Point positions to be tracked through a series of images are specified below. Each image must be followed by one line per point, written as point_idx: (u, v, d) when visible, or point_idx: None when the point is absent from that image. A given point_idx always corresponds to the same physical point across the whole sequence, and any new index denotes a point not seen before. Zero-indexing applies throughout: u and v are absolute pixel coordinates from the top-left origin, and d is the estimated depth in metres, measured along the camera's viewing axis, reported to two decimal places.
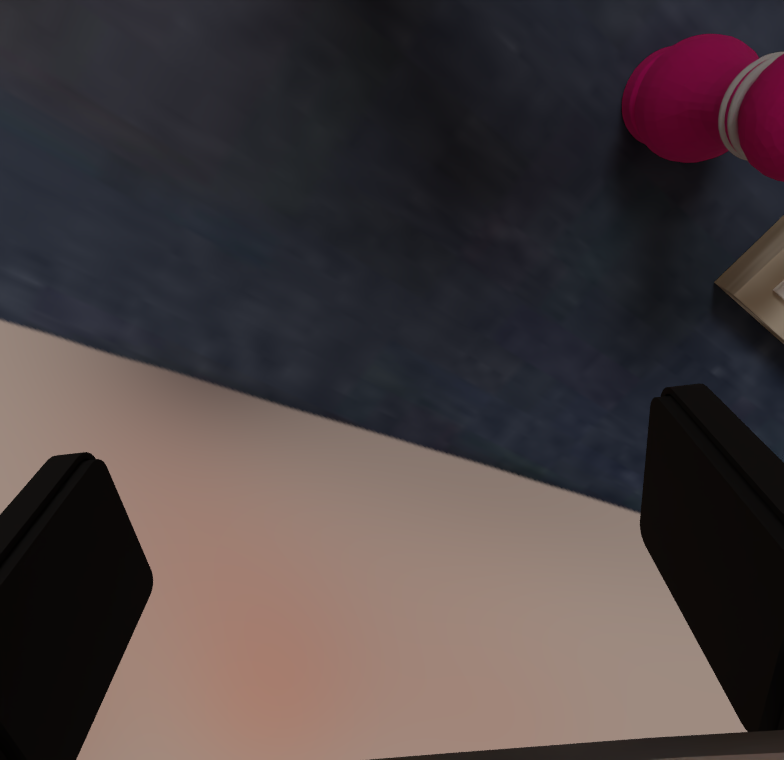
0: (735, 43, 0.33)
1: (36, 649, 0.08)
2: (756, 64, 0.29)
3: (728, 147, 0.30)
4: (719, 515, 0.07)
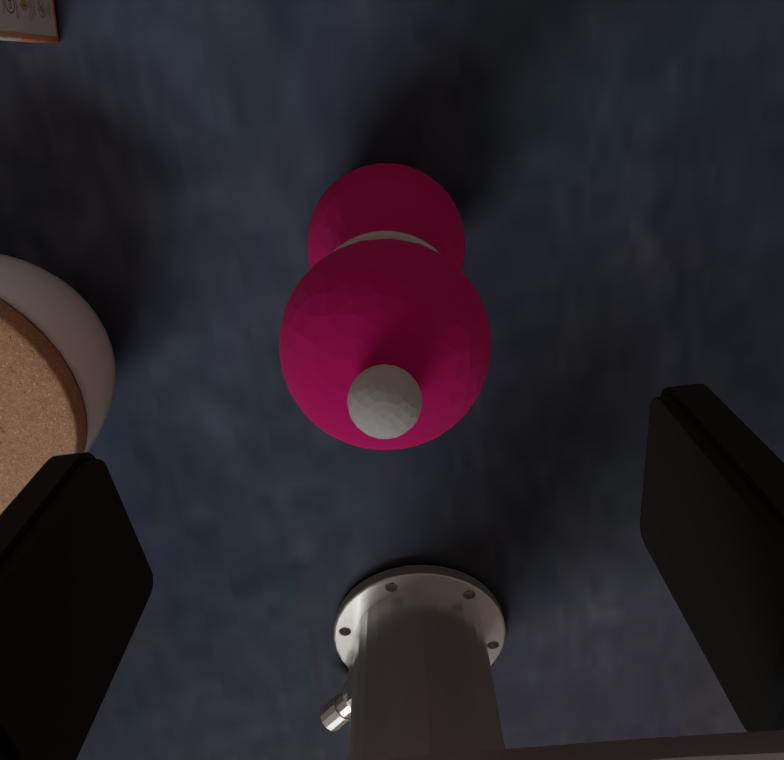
0: None
1: (36, 649, 0.08)
2: None
3: None
4: (719, 515, 0.07)
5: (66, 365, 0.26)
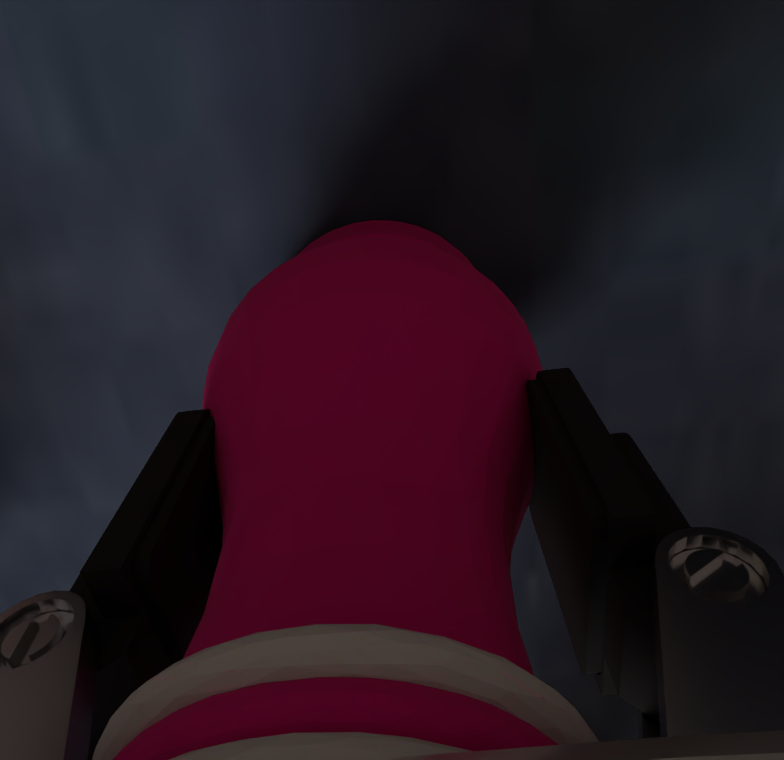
0: None
1: (191, 577, 0.08)
2: None
3: None
4: (558, 481, 0.08)
5: None
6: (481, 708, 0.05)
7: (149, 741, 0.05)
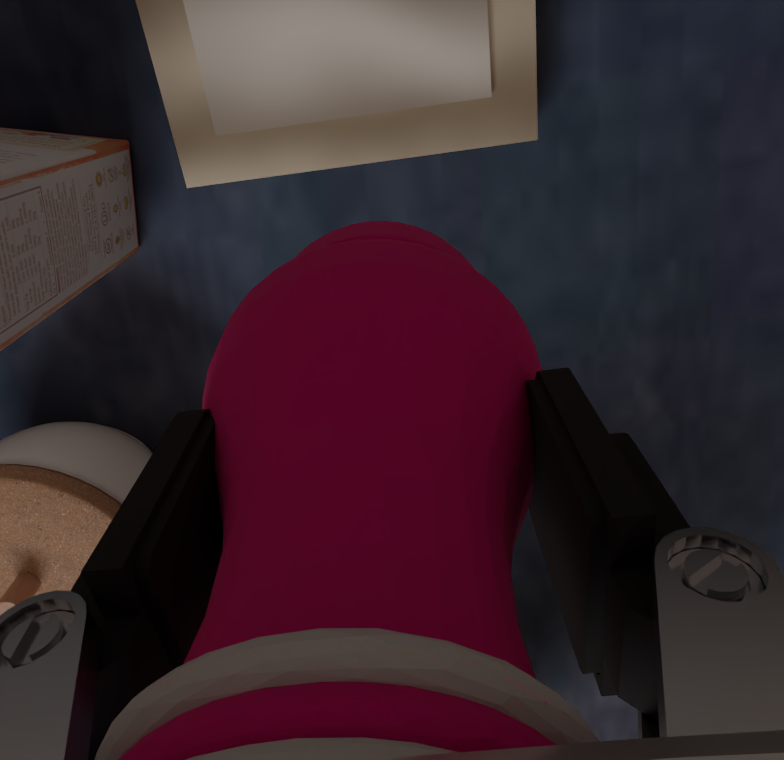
0: None
1: (192, 577, 0.08)
2: None
3: None
4: (558, 481, 0.08)
5: None
6: (484, 712, 0.05)
7: (151, 746, 0.05)
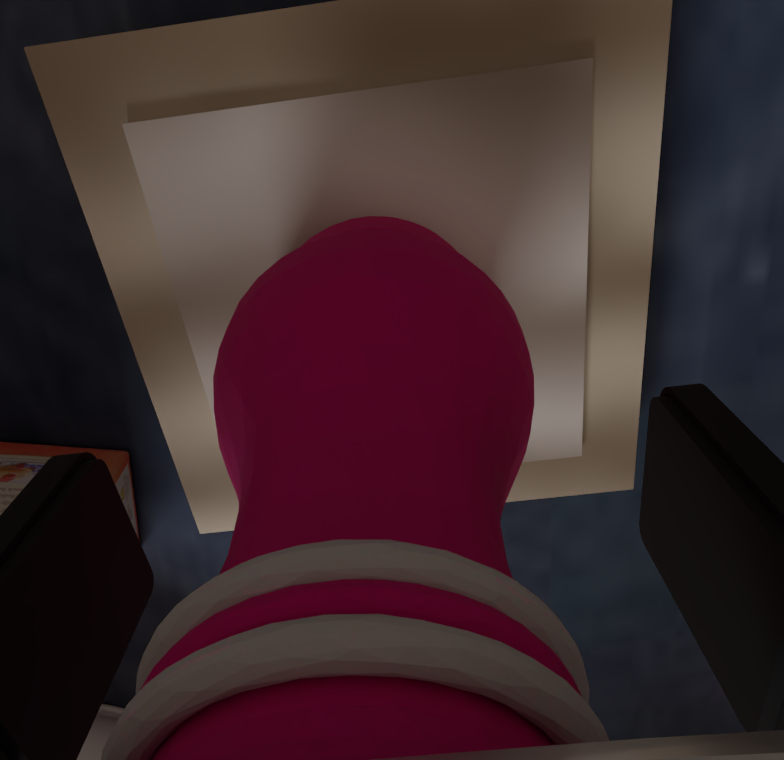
0: None
1: (37, 648, 0.08)
2: None
3: None
4: (718, 515, 0.07)
5: None
6: (478, 604, 0.05)
7: (197, 634, 0.05)
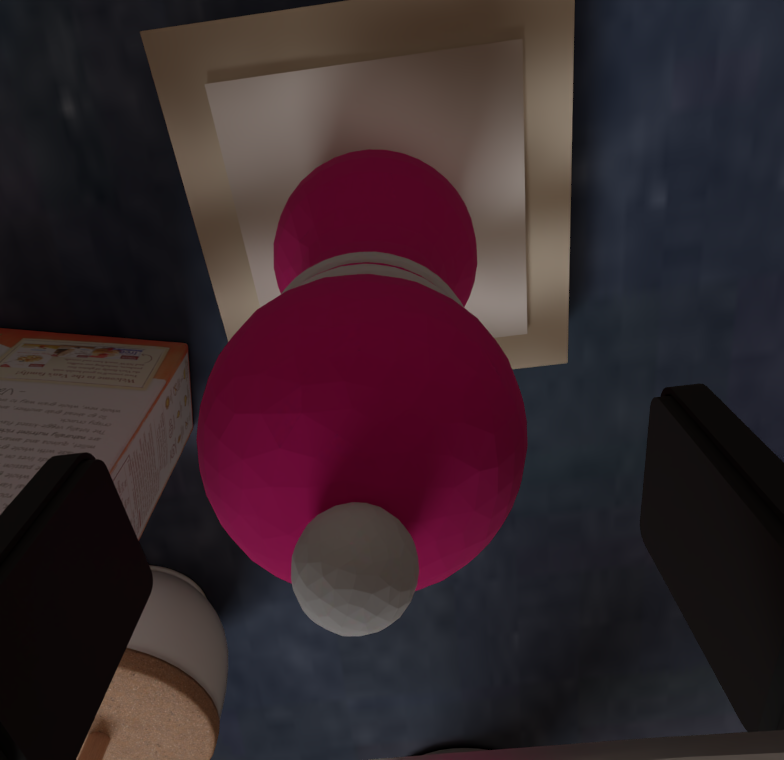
0: None
1: (36, 649, 0.08)
2: None
3: None
4: (719, 515, 0.07)
5: (208, 696, 0.33)
6: (417, 275, 0.13)
7: None
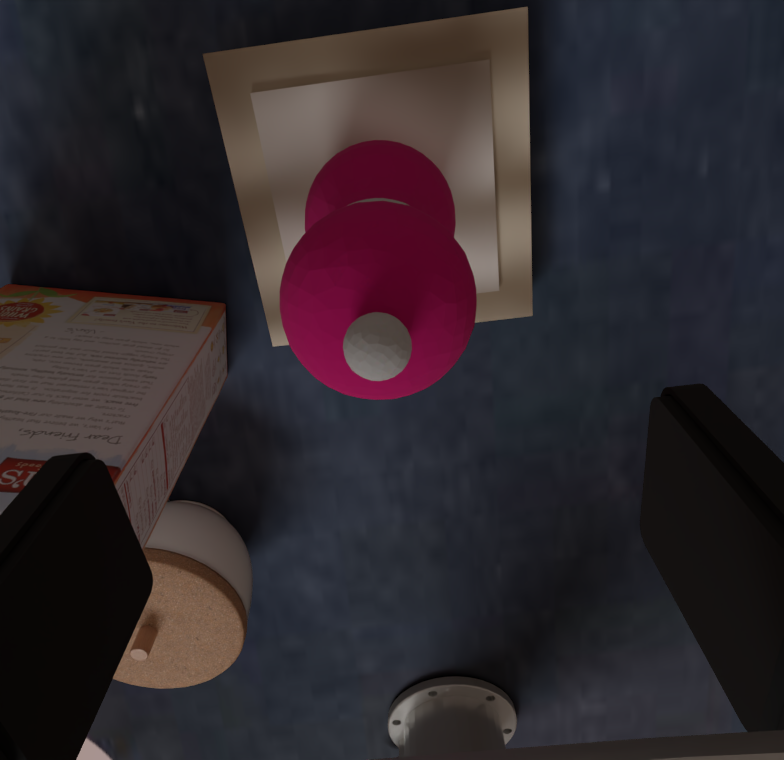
0: None
1: (36, 649, 0.08)
2: None
3: None
4: (719, 515, 0.07)
5: (238, 597, 0.40)
6: None
7: None
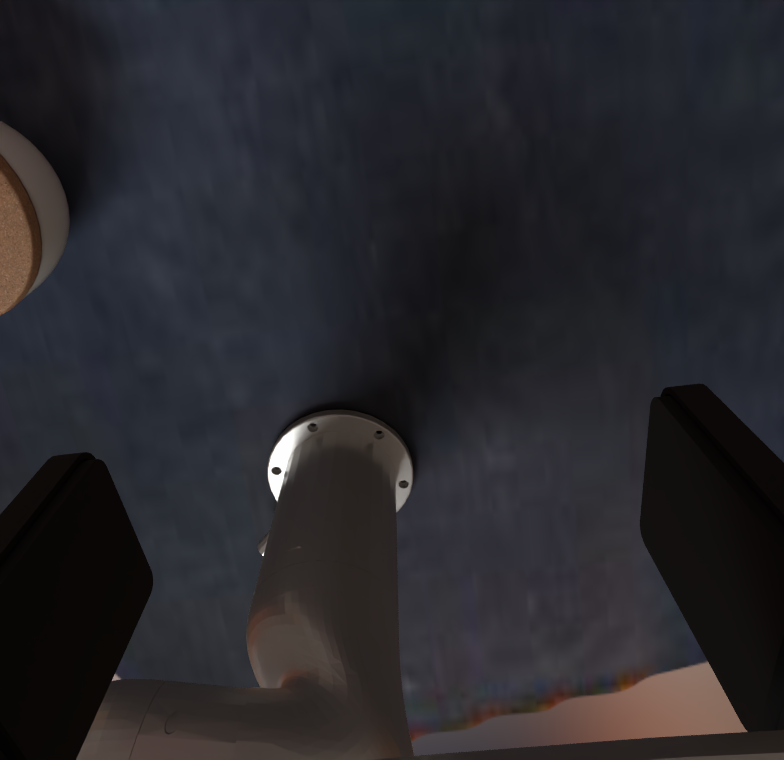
0: None
1: (36, 649, 0.08)
2: None
3: None
4: (719, 515, 0.07)
5: (22, 186, 0.33)
6: None
7: None
